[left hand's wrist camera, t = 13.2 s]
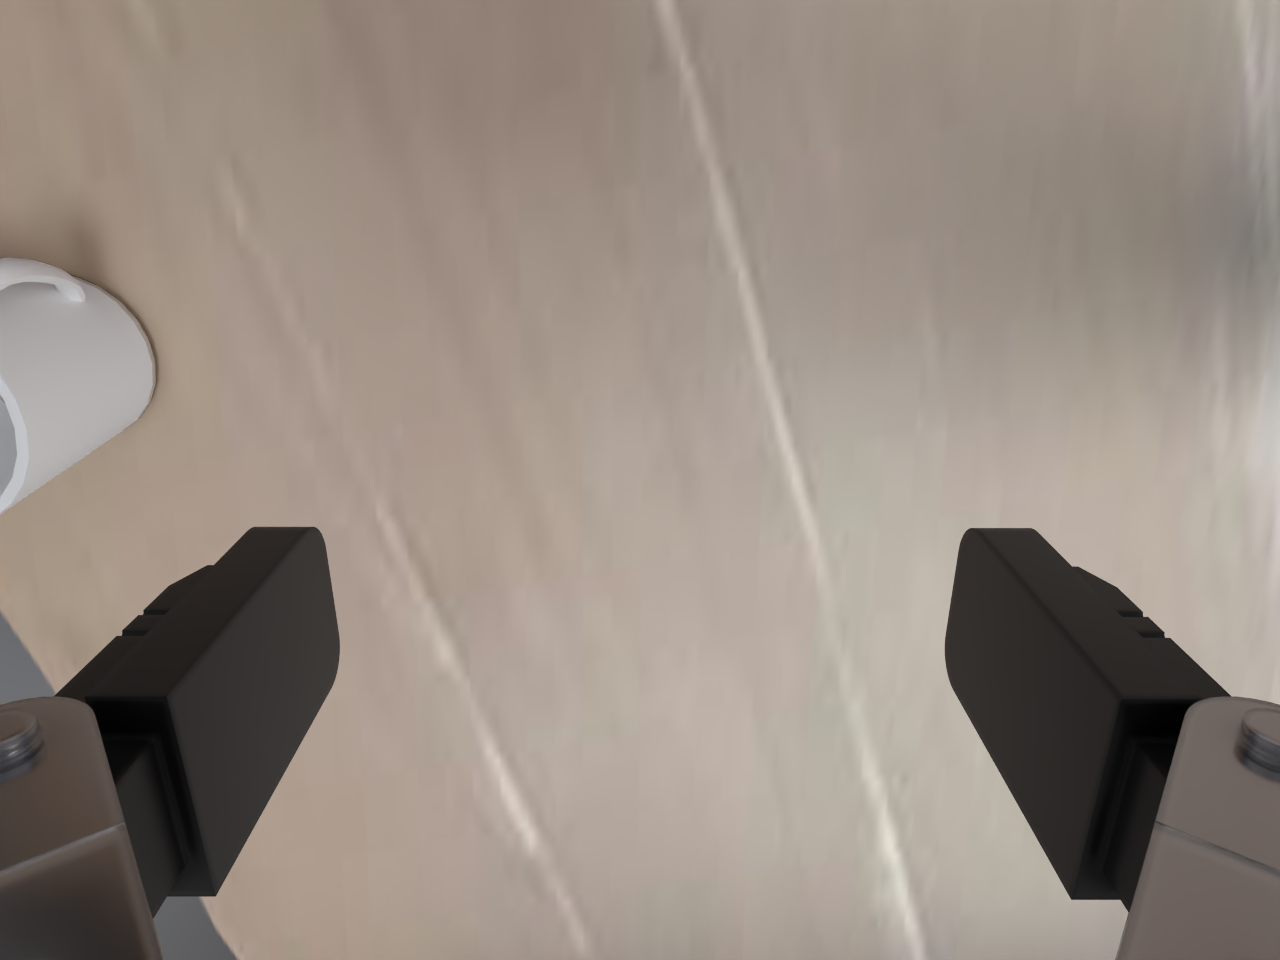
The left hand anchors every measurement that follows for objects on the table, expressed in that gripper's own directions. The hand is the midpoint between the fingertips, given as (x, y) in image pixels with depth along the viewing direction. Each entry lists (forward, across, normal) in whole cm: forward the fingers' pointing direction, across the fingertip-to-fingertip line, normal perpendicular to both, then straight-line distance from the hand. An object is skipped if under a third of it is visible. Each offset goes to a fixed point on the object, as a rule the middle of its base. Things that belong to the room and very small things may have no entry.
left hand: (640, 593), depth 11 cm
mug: (+31, +27, +4) cm, 41 cm away
